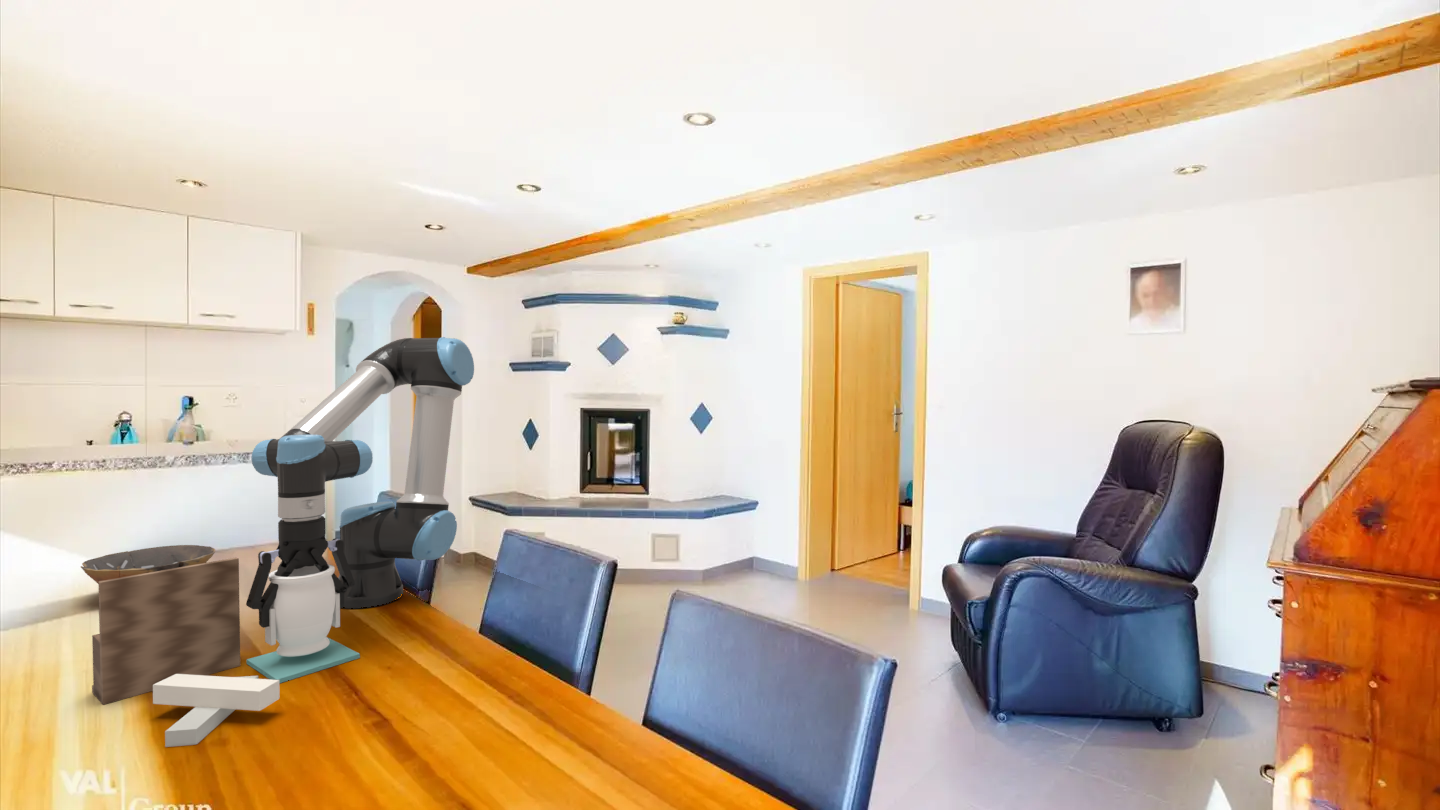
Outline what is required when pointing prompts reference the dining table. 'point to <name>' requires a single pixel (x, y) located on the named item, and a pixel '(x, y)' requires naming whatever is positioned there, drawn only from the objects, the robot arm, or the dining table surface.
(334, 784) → the dining table surface
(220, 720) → the offcut low
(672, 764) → the dining table surface
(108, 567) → the bowl
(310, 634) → the jar
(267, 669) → the mat
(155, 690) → the offcut top
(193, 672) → the wood grain panel
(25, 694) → the dining table surface
